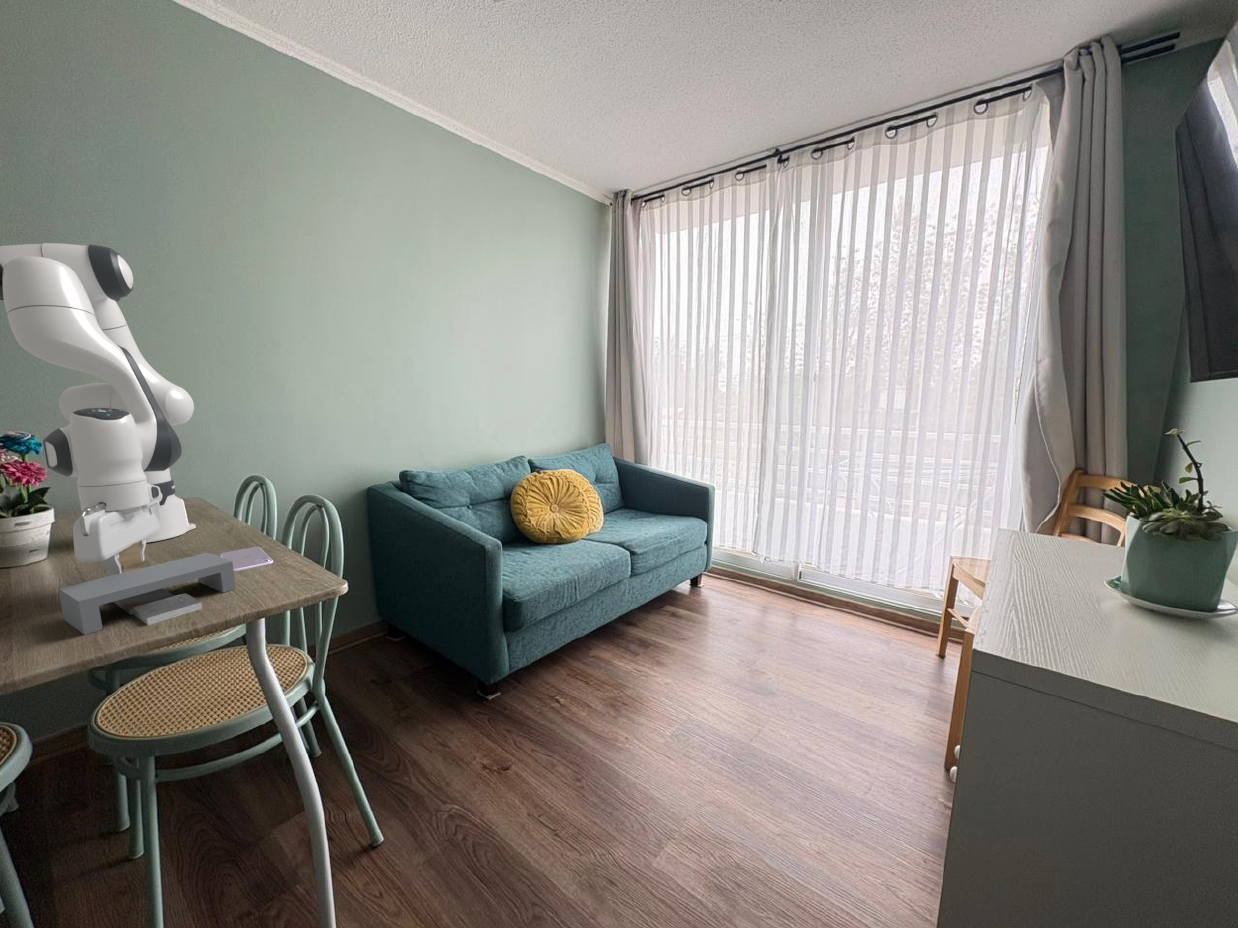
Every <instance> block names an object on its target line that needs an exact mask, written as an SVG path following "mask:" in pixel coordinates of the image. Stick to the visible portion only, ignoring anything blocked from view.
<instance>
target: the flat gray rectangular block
mask: <svg viewBox="0 0 1238 928" xmlns="http://www.w3.org/2000/svg"><path fill="white" fill-rule="evenodd" d="M202 609H203V604H202V601H200V600H198V599H197V598H195V597H193V596H191V595H190V594H188V593H186V592H184V593H182V594H178V595H174V596H173V597H170V598H166V599H162V600H159V601H155V602H152V603H148V604H144V605H141V606H137V607H133V616H135V617H136V618H138V619H139V620H140V621H141V622H143V623H144V624H146V625H147V626H151V625H153V624H156V623H157V624H158V623H160V622H163V621H166V620H170V619H174V618H176V617H178V616H179V617H180V616H182V615H183V616H184V615H186V614H190V613H193V612H197V611H198V610H202Z"/></svg>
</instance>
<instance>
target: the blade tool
mask: <svg viewBox="0 0 1238 928" xmlns="http://www.w3.org/2000/svg"><path fill="white" fill-rule="evenodd" d="M118 561H119V563H120V565H124V572H128V571H133V570H137V569H141V568H143V562H141V555H140V549H139V543H138V542H135V543H134V544H132V546H130V547H129V548H127V549H125V550H123V551H121V552H119V558H118ZM105 575H107V573H106V574H105ZM173 596H175V594H173V593H171V592H170V591H168V590H166V589H165V588H161V589H158V590H154V591H150V592H147V593H143V594H139V595H136V596H132V597H128V598H125V599H121V600H117V601H114V602H113V603H114V604H115V605H116V606H118V607H119V608H120V609H122V610H123V611H125V612H126V613H128V614H129V615H130V616H132V615H133V607H137V606H141V605H144V604H148V603H152V602H155V601H159V600H162V599H166V598H170V597H173ZM133 616H134V615H133Z"/></svg>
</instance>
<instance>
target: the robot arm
mask: <svg viewBox="0 0 1238 928" xmlns="http://www.w3.org/2000/svg"><path fill="white" fill-rule="evenodd" d="M133 285H134V275H133V272H132V270H131V267H130V265H129V264H128V263H127V261H126V260H125V259H124V258H123V257H122V256H121V254H120V253H119V252H117V251H116V250H114V249H113V248H111V247H108V246H103V245H97V244H88V245H83V244H73V243H72V244H71V243H59V242H57V243H55V242H43V243H24V244H10V245H0V301H3V303H4V308H5V309H4V310H5V312H6V316H7V320H8V323H9V327H10V328H11V329H10V330H11V332H12V334H13V337H14V338H15V340H16V342H17V343H18V345H19V346H20V347H21V348H23V349H24V350H25V351H26V352H28V353H29V354H30V355H32V356H34V357H36V358H38V359H40V360H42V361H43V362H47V363H49V364H51V365H55V366H58V367H61V368H66V369H70V370H73V371H77V372H81V373H84V374H88V375H91V376H93V377H96V378H99V379H101V380H103V381H105V382H94V383H92V382H91V383H87V384H86V383H85V384H80V385H75V386H70V387H68V388H66V389H65V390H64V391H63V392H62V393H61V395H60V397H59V401H58V407H59V410H60V412H61V415H63V417H64V418H65V419H66V420H67V421H68V422H69V424H68V425H66V426H65V427H61V428H57V429H55V430H53V431H52V432H50V433H49V434H48V435H47V436H46V437H45V438H44V439H43V440H42V443H43V444H42V445H43V449H44V453H45V454H44V455H45V460H46V467H47V468H48V469H50V470H51V471H53V472H55V473H57V474H59V475H61V476H64V477H67V478H68V477H70V478H77V482H76V488H77V493H78V498H79V504H80V510H81V514H80V516H78V518H77V519H76V521H74V523H73V527H72V528H73V533H72V536H73V537H72V539H73V550H74V552H73V553H74V557H75V559H76V560H77V562H79V563H80V564H87V563H96V562H99V563H100V564H101V566H102V567H103V568H104V569H105V572H106V573H107V574H106V577H108V576H112V575H116V574H120V573H124V565H120V563H119V561H118V558H119V552H121V551H123V550H125V549H127V548H129V547H130V546H132V544H134V543H135V542H138V543H139V549H140V555H141V562H142V563H143V562H144V561H146V560H145V550H146V545H147V543H151V542H152V543H153V542H158V541H159V542H160V541H163V540H167V539H172V538H176V537H178V536H181V535H184V534H186V533H187V532H188V531H191V530H194V529H196V528H197V527H196V524H195V523H189V520H188V514H187V511H186V507H185V502H184V500H183V499H181V498H180V497H178V496H177V495H175V494H176V485H175V482H174V480H173V479H172V477H171V471H170V468H171V467H172V466H173V465H174V464H175V463H177V462H178V461H179V459H180V458H181V456H182V455H183V454H182V452H183V451H182V450H183V449H182V445H181V442H180V439H179V435H178V434H177V433H176V431H175V430H174V428H173V426H175V427H176V426H178V425H183V424H186V423H187V422H188V421H190V420H191V419H192V416H193V415H194V411H195V404H194V400H193V398H192V396H191V395H190V393H189V392H187V390H185V389H184V388H183V387H181V386H178V385H176V384H175V383H173V382H171V381H169V380H168V379H166V378H165V377H163V376H162V375H161V374H160V373H158V372H157V370H156V369H154V368H153V366H151V365H150V364H149V362H147V360H146V359H145V357H144V356H143V355H142V353H141V351H140V349H139V347H138V345H137V343H136V341H135V339H134V336H133V335H132V332H131V329H130V327H129V326H128V323H127V320H126V319H125V316H124V314H123V313H122V310H121V308H120V307H119V305H118V303H117V302H120V301H121V299H122V298H125V297H128V295H129V294H131V293H132V291H133V289H134V288H133Z"/></svg>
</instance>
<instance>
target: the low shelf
mask: <svg viewBox="0 0 1238 928" xmlns="http://www.w3.org/2000/svg"><path fill="white" fill-rule="evenodd" d="M197 579H198V582H199V583H200V584H201V585H205V586H208V587H209V588H212V589H214V590H216V591H219V592H221V593H226V592H230V591H233V590H236V589H237V586H236V578H235V571H234V569H233V561H230V560H228V559H225V558H222V557H220V555H216V554H214V553H210V552H204V553H200V554H196V555H192V556H188V557H183V558H180V559H175V560H171V561H166V562H163V563H158V564H153V565H150V566H145V567H142V568H141V569H137V570H133V571H128V572H124V573H120V574H116V575H112V576H108V577H107V576H104V577H100V578H96V579H91V580H88V581H82V582H79V583H74V584H70V585H66V586H62V587H58V588H57V590H58V595H59V601H60V605H61V612H62V616H63V621H65V622H66V623H67V624H69V625H70V626H72V627H73V628H75V629H76V631H79V632H80V633H81V634H83V635H84V636H86V635H89V634H93V633H95V632H99V631H102V630H104V628H103V624H102V622H103V621H102V615H101V611H100V606H102V605H106V604H109V603H110V604H111V603H114V601H117V600H121V599H125V598H128V597H132V596H136V595H139V594H143V593H147V592H150V591H154V590H158V589H161V588H163V589H165V588H168V587H172V586H175V585H179V584H183V583H187V582H192V581H193V580H197Z"/></svg>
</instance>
